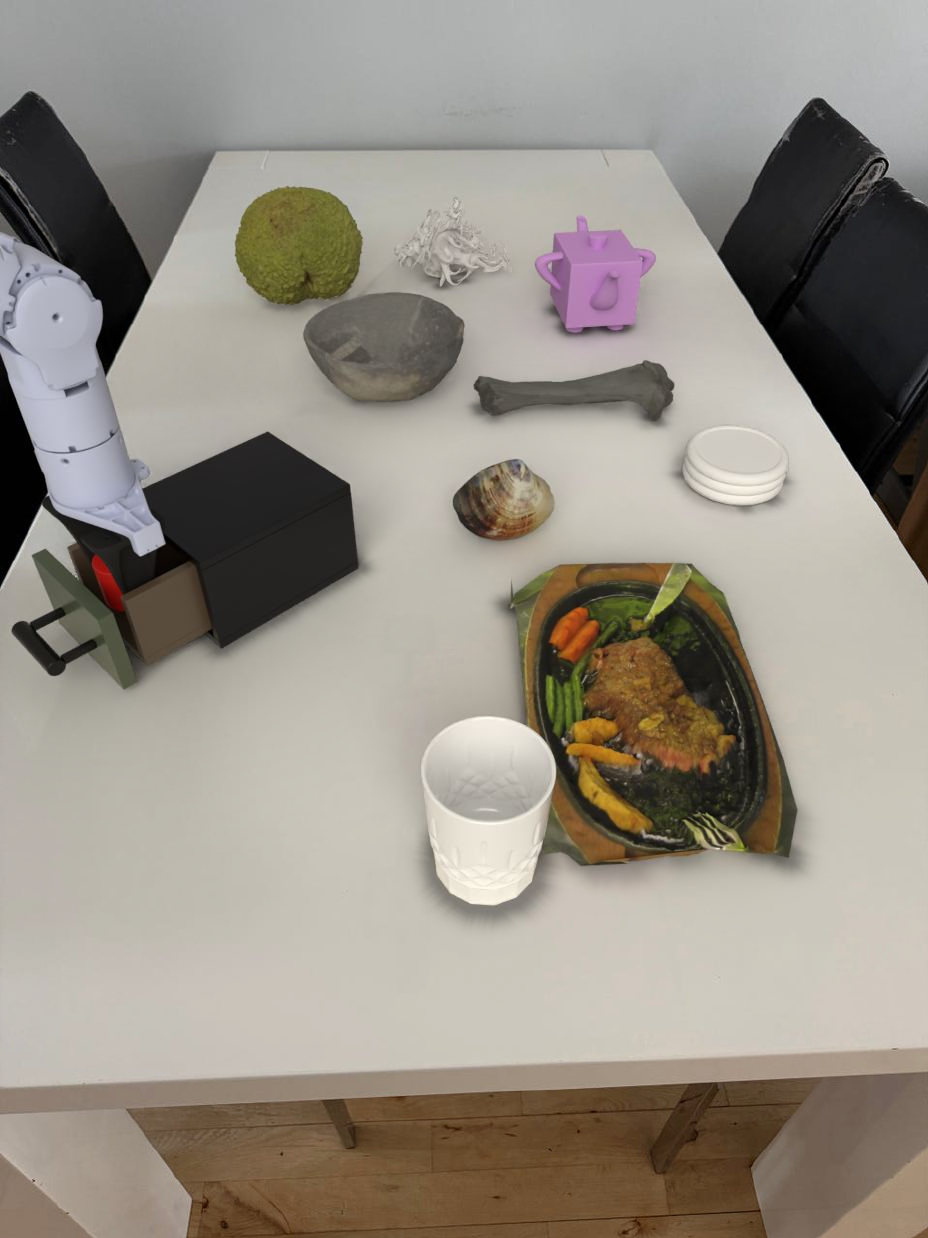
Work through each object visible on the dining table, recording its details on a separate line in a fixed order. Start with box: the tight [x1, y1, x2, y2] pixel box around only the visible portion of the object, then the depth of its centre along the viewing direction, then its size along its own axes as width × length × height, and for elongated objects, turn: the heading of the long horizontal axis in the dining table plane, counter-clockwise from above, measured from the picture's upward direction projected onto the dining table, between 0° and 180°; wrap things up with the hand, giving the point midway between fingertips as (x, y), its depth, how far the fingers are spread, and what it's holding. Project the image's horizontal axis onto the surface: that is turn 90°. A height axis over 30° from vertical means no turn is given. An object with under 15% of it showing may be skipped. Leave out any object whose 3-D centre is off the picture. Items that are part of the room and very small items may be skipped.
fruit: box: [234, 185, 364, 306], centre depth 119 cm, size 16×14×15 cm
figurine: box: [393, 195, 514, 287], centre depth 125 cm, size 13×15×12 cm
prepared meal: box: [507, 562, 798, 867], centre depth 69 cm, size 28×4×18 cm
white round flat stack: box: [681, 424, 790, 506], centre depth 91 cm, size 10×10×4 cm
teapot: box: [534, 215, 657, 334], centre depth 115 cm, size 15×13×11 cm
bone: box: [473, 359, 675, 422], centre depth 99 cm, size 22×6×6 cm, turn 91°
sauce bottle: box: [92, 554, 125, 611], centre depth 70 cm, size 4×4×6 cm
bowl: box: [302, 291, 466, 403], centre depth 103 cm, size 18×18×8 cm
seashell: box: [452, 458, 556, 541], centre depth 83 cm, size 10×6×8 cm, turn 102°
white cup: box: [420, 715, 556, 906], centre depth 57 cm, size 8×8×10 cm
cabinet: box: [142, 431, 359, 649], centre depth 78 cm, size 15×12×9 cm
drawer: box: [10, 541, 212, 690], centre depth 72 cm, size 18×10×7 cm, turn 135°
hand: (126, 581), depth 71 cm, fingers closed on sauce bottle, 4 cm apart
